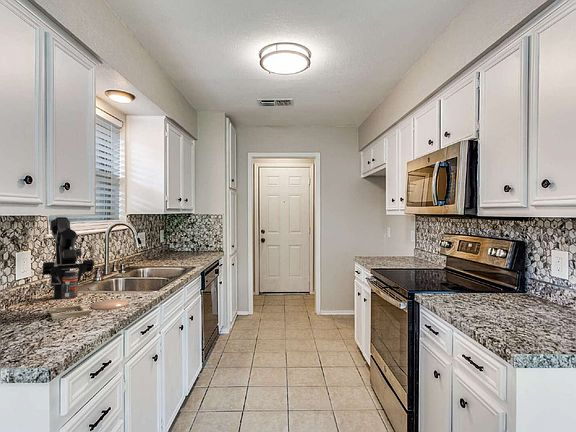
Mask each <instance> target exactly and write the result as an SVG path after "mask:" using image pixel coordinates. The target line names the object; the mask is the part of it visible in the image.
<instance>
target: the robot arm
mask: <svg viewBox="0 0 576 432" xmlns="http://www.w3.org/2000/svg"><path fill="white" fill-rule="evenodd" d="M49 231H51V235H52V237H53V239H55V240H54V241H55V245H54V246H55V261H46V262H42V267H41V268H42V269H41V271H42V272H41V273H42V274H41V275H42V276H47V275H48V276H50V280H49V281H50V284H49V285H50V287H51V288H53V296H52V297H50V300H58V299H59V300H64V299H63V298H61V292H62V277H64V276H65V271H71V270H73V269H75V270H77V269H78V271H77V277H78V284H80V282H81V278H82V276H83V274H86V272H87V273H88V272H92V271H93V269H94V265H95V261H94V259H92V258H91V259H83V260H82V262H81V263H77V262H78V258H77V257H82V255H83V254H82V253H83V252H82V248H76V249H75V245H76V241H77V240H78V239H79V237H78V235H77V232H76V231H75V230H73V229H72V228H71V221H70V219H68V217H66V216H57V217H55V218H54V219H53V220H51V221H50V224H49Z"/></svg>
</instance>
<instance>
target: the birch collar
mask: <svg viewBox="0 0 576 432" xmlns="http://www.w3.org/2000/svg"><path fill="white" fill-rule="evenodd" d="M76 310H77V311H76ZM69 311H71V312H69ZM61 312H62V313H61ZM48 313H49V314H50V317H51V319H52V321H54V320H59V319H60V320H61V319H66V318H74V317H81V316H86V315H90V314H91V310H90V309H89V307H87V306H86V304H85V303H83V304H75V305H68V306H60V307H52V308H49V310H48Z"/></svg>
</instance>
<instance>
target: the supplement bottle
mask: <svg viewBox="0 0 576 432" xmlns="http://www.w3.org/2000/svg"><path fill="white" fill-rule="evenodd" d="M76 274H77V273H76V270H70V271H65V276H64V277H62V292H61V298H63V299H62V300H72V299H76V298H77V297H79V296H78V295H79V283H78V275H76Z"/></svg>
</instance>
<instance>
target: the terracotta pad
mask: <svg viewBox="0 0 576 432" xmlns="http://www.w3.org/2000/svg"><path fill="white" fill-rule="evenodd" d="M128 304H129V303H128V300H126V299H118V298H117V299H116V298H114V299H113V298H111V299H105V300H104V299H103V300H99V301H95V302H93V303H91V309H93V310H96V311H98V310H99V311H107V310H108V311H109V310H116V309H120V308H125V307H127V306H128Z"/></svg>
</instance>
